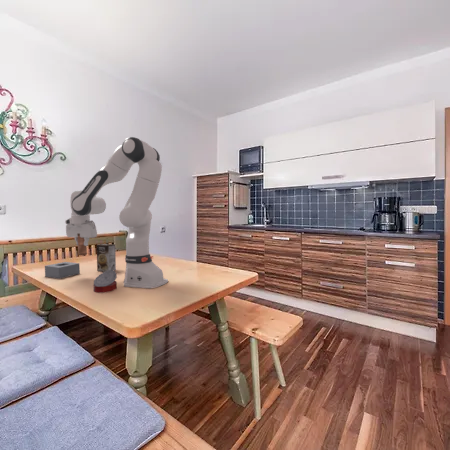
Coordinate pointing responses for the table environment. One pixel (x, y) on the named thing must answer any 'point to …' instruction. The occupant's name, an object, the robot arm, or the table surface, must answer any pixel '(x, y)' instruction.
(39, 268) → the table surface
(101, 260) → the coffee box
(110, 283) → the canned food
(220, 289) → the table surface
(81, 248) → the terracotta peg
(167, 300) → the table surface
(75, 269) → the socket block
